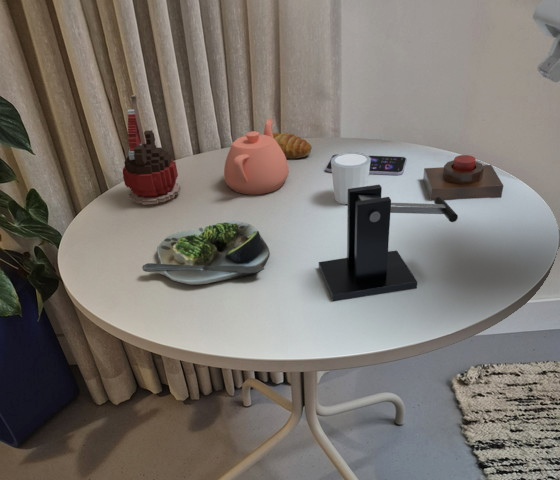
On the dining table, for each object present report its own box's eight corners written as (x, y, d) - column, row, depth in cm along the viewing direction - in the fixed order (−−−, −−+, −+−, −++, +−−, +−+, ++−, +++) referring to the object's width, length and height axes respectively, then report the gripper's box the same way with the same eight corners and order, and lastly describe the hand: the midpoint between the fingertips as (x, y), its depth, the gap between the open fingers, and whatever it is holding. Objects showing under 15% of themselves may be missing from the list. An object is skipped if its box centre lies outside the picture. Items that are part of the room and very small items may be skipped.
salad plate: (152, 306, 81) (144, 278, 78) (137, 248, 94) (130, 223, 91) (282, 276, 85) (280, 249, 82) (250, 225, 98) (247, 199, 95)
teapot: (211, 198, 107) (203, 147, 101) (248, 161, 119) (243, 113, 113) (271, 204, 103) (267, 151, 97) (303, 165, 116) (301, 116, 109)
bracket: (396, 257, 87) (402, 174, 78) (416, 289, 80) (425, 202, 71) (318, 268, 86) (316, 186, 77) (332, 302, 79) (331, 215, 71)
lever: (439, 209, 81) (444, 192, 79) (455, 226, 76) (460, 209, 75) (351, 206, 78) (354, 189, 77) (362, 224, 74) (365, 207, 72)
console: (489, 176, 106) (493, 154, 103) (501, 197, 99) (505, 175, 96) (423, 179, 107) (425, 158, 104) (430, 201, 100) (432, 178, 97)
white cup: (377, 195, 103) (379, 156, 98) (353, 210, 99) (354, 170, 95) (347, 186, 107) (347, 148, 102) (323, 200, 103) (322, 161, 98)
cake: (175, 207, 105) (154, 103, 93) (125, 210, 106) (98, 107, 94) (184, 183, 113) (166, 85, 101) (138, 186, 114) (114, 88, 102)
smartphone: (332, 153, 117) (407, 156, 113) (332, 156, 117) (407, 159, 114) (324, 169, 112) (402, 172, 108) (324, 172, 112) (402, 175, 108)
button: (471, 164, 102) (473, 154, 100) (476, 172, 99) (477, 162, 98) (451, 165, 102) (452, 155, 101) (454, 173, 99) (456, 163, 98)
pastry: (317, 150, 121) (317, 132, 118) (302, 163, 117) (301, 144, 114) (279, 145, 125) (277, 127, 122) (263, 157, 121) (261, 138, 118)
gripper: (583, -64, 69) (491, 38, 74) (709, -48, 53) (581, 80, 59) (606, -23, 72) (517, 72, 78) (731, 3, 57) (608, 119, 62)
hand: (545, 76), depth 68 cm, fingers closed
